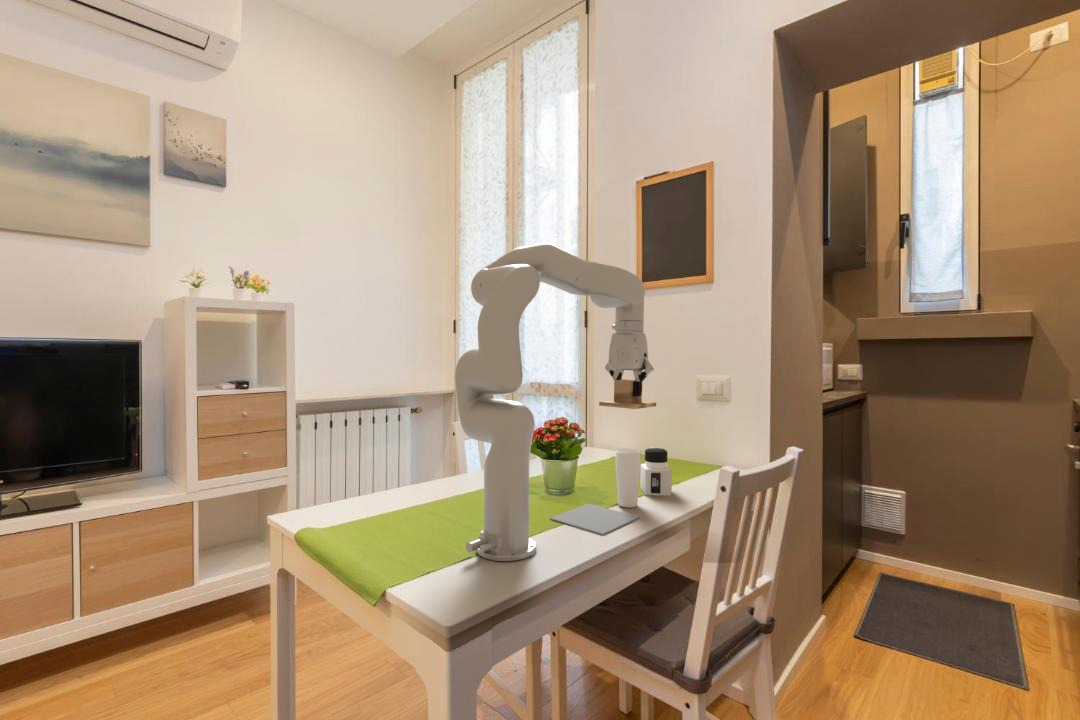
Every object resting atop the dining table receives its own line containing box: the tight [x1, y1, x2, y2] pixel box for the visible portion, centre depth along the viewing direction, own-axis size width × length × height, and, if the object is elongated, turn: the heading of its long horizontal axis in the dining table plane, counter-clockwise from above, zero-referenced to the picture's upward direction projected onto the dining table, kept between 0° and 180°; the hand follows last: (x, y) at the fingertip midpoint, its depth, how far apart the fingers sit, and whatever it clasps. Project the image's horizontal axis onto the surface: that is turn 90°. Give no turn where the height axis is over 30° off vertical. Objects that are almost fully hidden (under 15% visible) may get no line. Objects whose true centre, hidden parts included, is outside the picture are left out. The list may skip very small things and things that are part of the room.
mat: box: [549, 503, 641, 536], centre depth 130 cm, size 16×16×1 cm
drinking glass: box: [614, 447, 642, 509], centre depth 140 cm, size 7×7×15 cm
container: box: [639, 447, 673, 497], centre depth 154 cm, size 8×8×13 cm
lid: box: [598, 378, 657, 410], centre depth 140 cm, size 11×11×7 cm
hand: (628, 394), depth 140 cm, fingers closed on lid, 5 cm apart
